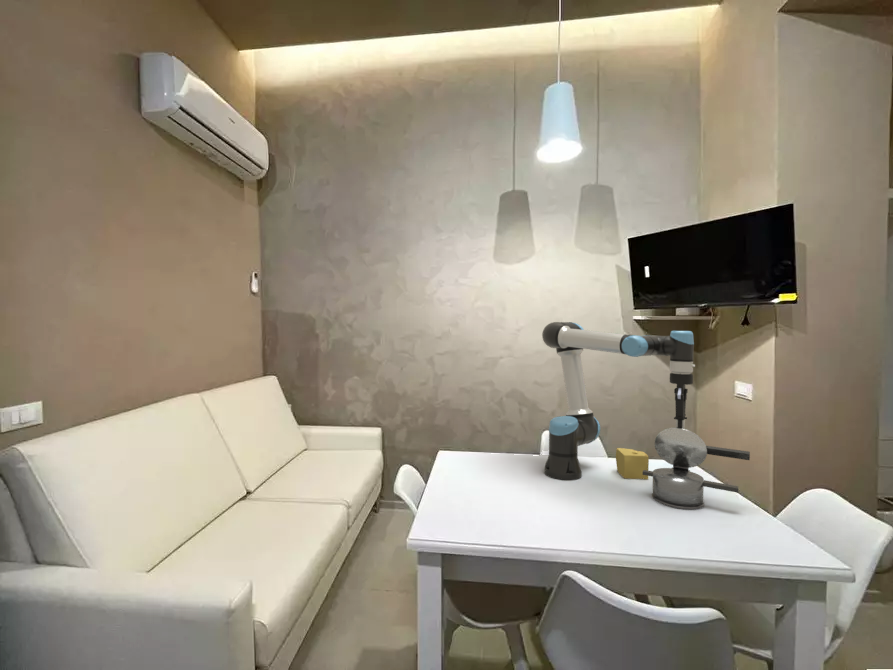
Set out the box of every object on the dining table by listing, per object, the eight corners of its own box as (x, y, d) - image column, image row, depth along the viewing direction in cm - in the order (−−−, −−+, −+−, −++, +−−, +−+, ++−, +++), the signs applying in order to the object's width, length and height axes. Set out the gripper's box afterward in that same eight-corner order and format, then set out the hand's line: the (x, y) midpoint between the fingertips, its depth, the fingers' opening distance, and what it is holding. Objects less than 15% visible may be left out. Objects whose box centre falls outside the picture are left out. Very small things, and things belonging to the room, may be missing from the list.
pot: (638, 500, 155) (638, 475, 155) (647, 485, 169) (647, 462, 169) (737, 521, 138) (738, 493, 138) (738, 503, 153) (738, 478, 152)
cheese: (640, 471, 186) (640, 448, 186) (649, 480, 176) (650, 455, 175) (615, 470, 187) (615, 447, 187) (622, 479, 177) (623, 454, 176)
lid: (653, 426, 161) (654, 422, 163) (655, 465, 167) (656, 461, 169) (750, 438, 144) (750, 434, 146) (749, 481, 150) (749, 477, 152)
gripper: (691, 375, 151) (690, 442, 152) (694, 372, 162) (693, 435, 162) (667, 373, 155) (666, 439, 156) (672, 370, 166) (671, 432, 167)
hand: (680, 436), depth 159 cm, fingers closed
